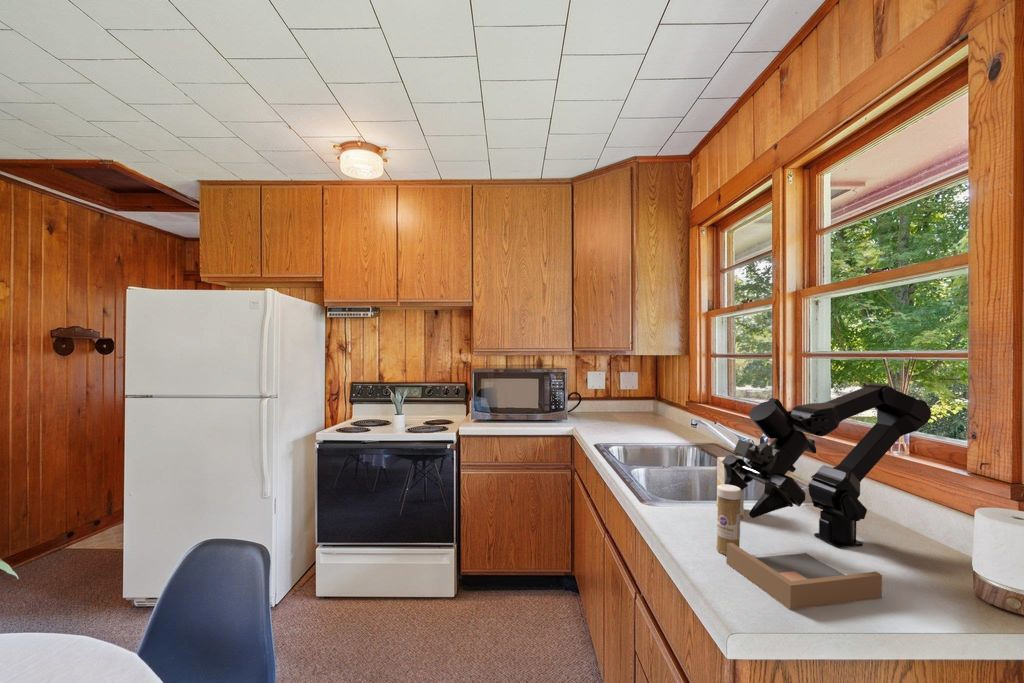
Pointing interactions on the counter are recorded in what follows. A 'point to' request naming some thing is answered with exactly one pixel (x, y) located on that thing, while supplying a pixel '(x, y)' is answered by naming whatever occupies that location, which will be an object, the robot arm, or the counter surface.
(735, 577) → the counter surface
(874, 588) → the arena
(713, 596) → the counter surface
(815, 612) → the counter surface
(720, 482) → the supplement box
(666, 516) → the counter surface
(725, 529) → the sprinkles bottle
